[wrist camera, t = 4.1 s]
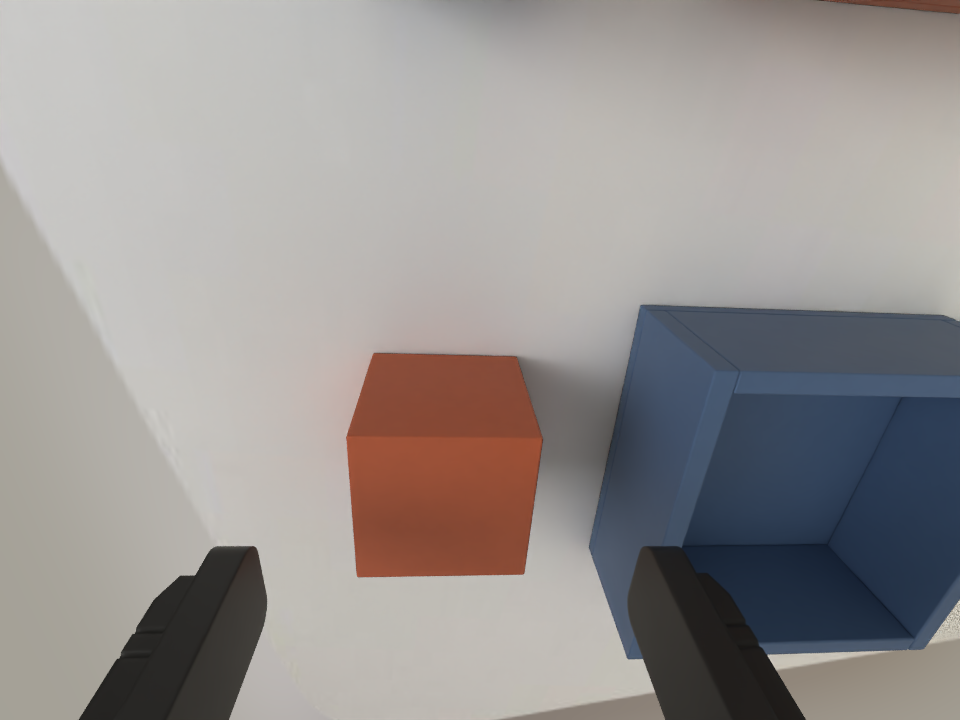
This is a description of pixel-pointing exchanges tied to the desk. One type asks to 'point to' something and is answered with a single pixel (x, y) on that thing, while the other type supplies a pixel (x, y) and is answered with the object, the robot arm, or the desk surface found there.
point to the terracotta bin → (911, 4)
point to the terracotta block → (442, 466)
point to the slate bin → (792, 471)
